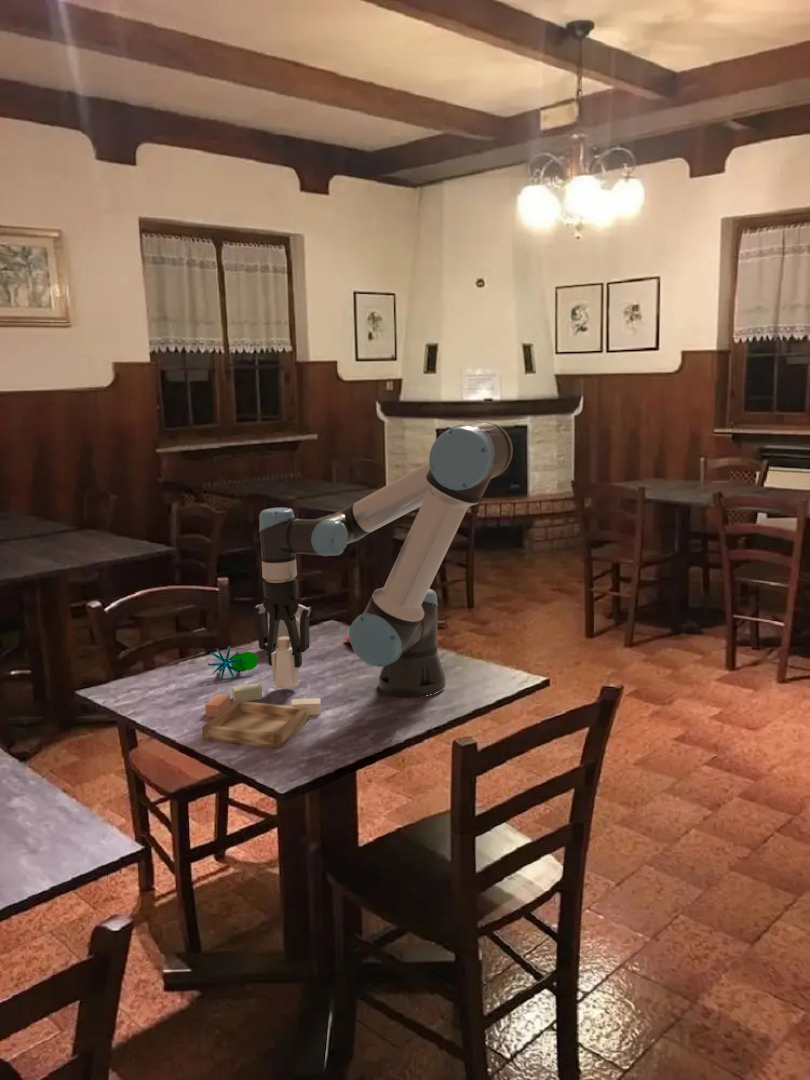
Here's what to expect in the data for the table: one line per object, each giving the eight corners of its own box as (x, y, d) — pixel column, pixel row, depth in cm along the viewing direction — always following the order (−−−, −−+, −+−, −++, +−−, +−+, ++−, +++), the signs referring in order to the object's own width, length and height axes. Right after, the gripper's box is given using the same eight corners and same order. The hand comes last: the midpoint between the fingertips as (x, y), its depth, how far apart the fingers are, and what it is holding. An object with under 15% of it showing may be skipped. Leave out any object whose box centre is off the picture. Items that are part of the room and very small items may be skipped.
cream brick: (320, 711, 192) (320, 698, 192) (320, 716, 189) (320, 703, 189) (292, 712, 192) (291, 699, 191) (291, 718, 189) (291, 704, 188)
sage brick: (259, 695, 202) (259, 683, 201) (262, 700, 199) (261, 687, 198) (232, 699, 200) (232, 686, 199) (234, 704, 197) (234, 691, 196)
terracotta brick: (217, 707, 195) (216, 694, 195) (230, 708, 195) (229, 695, 194) (206, 718, 189) (205, 704, 189) (219, 719, 189) (218, 705, 188)
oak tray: (309, 721, 186) (308, 708, 186) (279, 750, 173) (278, 735, 172) (237, 713, 191) (236, 700, 190) (203, 741, 177) (202, 726, 177)
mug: (262, 647, 235) (260, 606, 233) (290, 640, 240) (289, 600, 238) (286, 658, 226) (284, 616, 224) (315, 651, 231) (313, 610, 229)
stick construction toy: (211, 678, 208) (207, 646, 211) (205, 687, 213) (201, 656, 216) (262, 674, 213) (257, 643, 216) (254, 683, 219) (249, 652, 222)
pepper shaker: (276, 681, 206) (273, 634, 204) (300, 680, 206) (297, 633, 204) (272, 689, 200) (269, 641, 198) (296, 688, 200) (294, 641, 198)
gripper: (322, 576, 199) (327, 677, 204) (252, 573, 204) (259, 672, 209) (308, 584, 192) (314, 688, 197) (237, 581, 197) (244, 683, 202)
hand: (286, 679), depth 203 cm, fingers closed on pepper shaker, 4 cm apart
